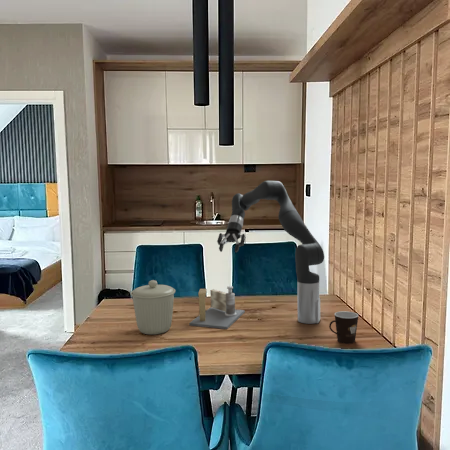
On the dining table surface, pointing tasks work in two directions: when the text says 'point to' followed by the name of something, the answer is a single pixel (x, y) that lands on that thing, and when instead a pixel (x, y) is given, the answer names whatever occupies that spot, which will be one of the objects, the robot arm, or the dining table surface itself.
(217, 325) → the board
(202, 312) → the post
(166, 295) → the canister
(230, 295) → the white wavy panel
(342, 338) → the coffee mug
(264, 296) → the dining table surface
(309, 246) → the robot arm
